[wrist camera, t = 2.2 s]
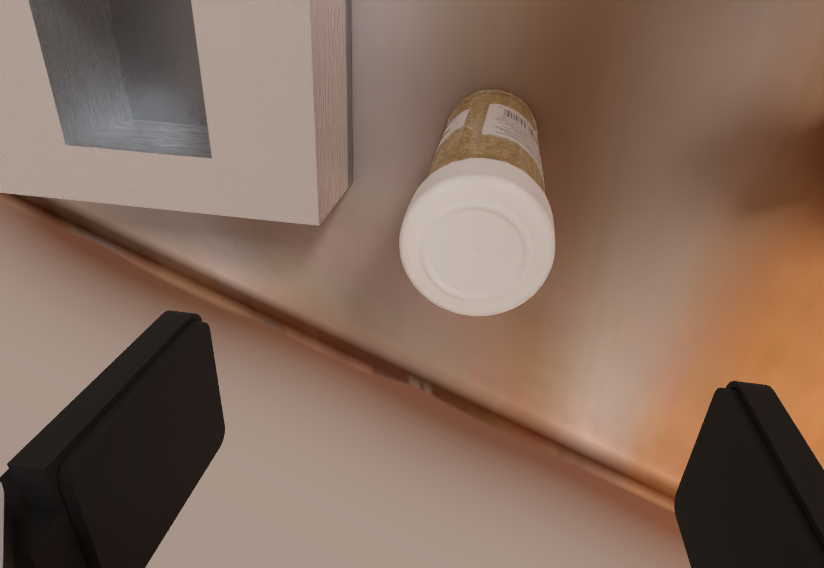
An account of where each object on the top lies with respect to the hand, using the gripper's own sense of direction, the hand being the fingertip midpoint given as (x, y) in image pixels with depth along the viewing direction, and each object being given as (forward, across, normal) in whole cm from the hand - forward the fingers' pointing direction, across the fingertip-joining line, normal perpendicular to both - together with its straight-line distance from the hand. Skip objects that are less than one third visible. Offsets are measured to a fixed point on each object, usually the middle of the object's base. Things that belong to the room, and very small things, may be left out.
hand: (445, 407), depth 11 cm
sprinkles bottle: (+20, 0, 0) cm, 20 cm away
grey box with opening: (+20, +15, -3) cm, 25 cm away
